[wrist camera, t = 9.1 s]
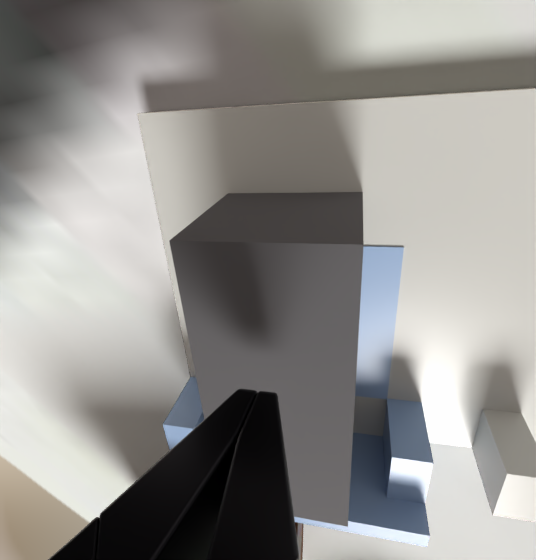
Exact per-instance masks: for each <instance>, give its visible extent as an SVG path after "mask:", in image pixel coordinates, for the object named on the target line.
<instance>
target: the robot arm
mask: <svg viewBox="0 0 536 560" xmlns="http://www.w3.org/2000/svg"><path fill="white" fill-rule="evenodd" d="M48 560H300V556H299V548H298V541H297V534H296V526H295V519H294V512H293V504H292V497H291V490H290V482H289V475H288V468H287V460H286V453H285V446H284V438H283V431H282V424H281V416H280V409H279V402H278V395H277V393H275V392H267V391H259V392H257V391H256V390H250V389H238V390H236V391H235V392H234V393H233V394H232V395H231V396H230V397H229V398H228V399H226V400H225V401H224V402H223V403H222V404H221V405H220V406H219V407H218V408H217V409H215V410H214V411H213V412H212V413H211V414H210V415H209V416H208V417H207V418H205V419H204V420H203V421H202V422H201V423H200V424H199V425H198V426H197V427H196V428H194V429H193V430H192V431H191V432H190V433H189V434H188V435H187V436H186V437H184V438H183V439H182V440H181V441H180V442H179V443H178V444H177V445H176V446H175V447H173V448H172V449H171V450H170V451H169V452H168V453H167V454H166V455H165V456H163V457H162V458H161V459H160V460H159V461H158V462H157V463H156V464H155V465H153V466H152V467H151V468H150V469H149V470H148V471H147V472H146V473H145V474H144V475H142V476H141V477H140V478H139V479H138V480H137V481H136V482H135V483H134V484H132V485H131V486H130V487H129V488H128V489H127V490H126V491H125V492H124V493H123V494H121V495H120V496H119V497H118V498H117V499H116V500H115V501H114V502H113V503H111V504H110V505H109V506H108V507H107V508H106V509H105V510H104V511H103V512H102V513H101V514H100V518H99V517H96V518H95V519H94V520H92V521H91V522H90V523H89V524H88V525H87V526H86V527H85V528H84V529H83V530H81V532H79V533H78V534H77V535H76V536H75V537H74V538H72V539H71V540H70V541H69V542H68V543H67V544H66V545H64V546H63V547H62V548H61V549H60V550H59V551H57V552H56V553H55V554H54V555H53V556H52V557H51V558H50V559H48Z"/></svg>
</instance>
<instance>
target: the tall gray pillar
mask: <svg viewBox="0 0 536 560" xmlns="http://www.w3.org/2000/svg"><path fill="white" fill-rule="evenodd" d="M169 242H170V247H171V252H172V258H173V263H174V268H175V273H176V278H177V283H178V288H179V293H180V298H181V303H182V308H183V313H184V318H185V324H186V329H187V334H188V339H189V344H190V349H191V354H192V359H193V364H194V369H195V374H196V379H197V385H198V390H199V395H200V400H201V405H202V410H203V415H204V419H205V418H207V417H208V416H209V415H210V414H211V413H212V412H213V411H214V410H215V409H217V408H218V407H219V406H220V405H221V404H222V403H223V402H224V401H225V400H226V399H228V398H229V397H230V396H231V395H232V394H233V393H234V392H235V391H236V390H238V389H250V390H256V391H257V392H259V391H267V392H275V393H277V395H278V402H279V409H280V416H281V424H282V431H283V438H284V446H285V453H286V460H287V468H288V475H289V482H290V490H291V497H292V504H293V512H294V517H299V518H304V519H309V520H315V521H320V522H325V523H331V524H336V525H341V526H347V527H348V514H349V496H350V478H351V461H352V443H353V425H354V407H355V389H356V371H357V353H358V335H359V317H360V300H361V282H362V264H363V246H364V240H363V192H312V193H228V194H226V195H225V196H224V197H223V198H221V199H220V200H219V201H218V202H216V203H215V204H214V205H213V206H212V207H210V208H209V209H208V210H207V211H205V212H204V213H203V214H202V215H200V216H199V217H198V218H197V219H195V220H194V221H193V222H192V223H190V224H189V225H188V226H187V227H185V228H184V229H183V230H182V231H181V232H179V233H178V234H177V235H176V236H174V237H173V238H172V239H171V240H169Z"/></svg>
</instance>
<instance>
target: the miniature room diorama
mask: <svg viewBox="0 0 536 560" xmlns="http://www.w3.org/2000/svg"><path fill="white" fill-rule="evenodd" d="M137 116H138V121H139V125H140V130H141V135H142V140H143V145H144V150H145V155H146V160H147V165H148V170H149V175H150V180H151V184H152V189H153V194H154V199H155V204H156V209H157V214H158V219H159V224H160V229H161V234H162V239H163V243H164V248H165V253H166V258H167V263H168V268H169V273H170V278H171V283H172V288H173V293H174V297H175V302H176V307H177V312H178V317H179V322H180V327H181V332H182V337H183V342H184V347H185V352H186V356H187V361H188V366H189V371H190V376H191V377H190V379H189V381H188V382H187V384H186V386H185V387H184V389H183V391H182V392H181V394H180V396H179V398H178V399H177V401H176V403H175V404H174V406H173V408H172V410H171V411H170V413H169V415H168V416H167V418H166V420H165V421H164V423H163V427H164V431H165V435H166V438H167V442H168V446H169V450H171V449H172V448H173V447H175V446H176V445H177V444H178V443H179V442H180V441H181V440H182V439H183V438H184V437H186V436H187V435H188V434H189V433H190V432H191V431H192V430H193V429H194V428H196V427H197V426H198V425H199V424H200V423H201V422H202V421H203V420H204V415H203V410H202V405H201V400H200V395H199V390H198V385H197V379H196V374H195V369H194V364H193V359H192V354H191V349H190V344H189V339H188V334H187V329H186V324H185V318H184V313H183V308H182V303H181V298H180V293H179V288H178V283H177V278H176V273H175V268H174V263H173V258H172V252H171V247H170V242H169V240H171V239H172V238H173V237H174V236H176V235H177V234H178V233H179V232H181V231H182V230H183V229H184V228H185V227H187V226H188V225H189V224H190V223H192V222H193V221H194V220H195V219H197V218H198V217H199V216H200V215H202V214H203V213H204V212H205V211H207V210H208V209H209V208H210V207H212V206H213V205H214V204H215V203H216V202H218V201H219V200H220V199H221V198H223V197H224V196H225V195H226V194H228V193H312V192H363V240H364V246H363V264H362V282H361V300H360V317H359V335H358V353H357V371H356V389H355V407H354V425H353V443H352V461H351V478H350V496H349V514H348V527H347V526H341V525H336V524H331V523H325V522H320V521H315V520H309V519H304V518H299V517H294V519H295V522H298V523H303V524H308V525H313V526H319V527H324V528H329V529H334V530H340V531H345V532H350V533H355V534H361V535H366V536H371V537H376V538H382V539H387V540H392V541H397V542H402V543H408V544H413V545H418V546H423V547H427V546H428V542H429V538H430V534H429V527H428V521H427V514H426V508H425V501H426V496H427V492H428V487H429V482H430V477H431V472H432V468H433V458H432V453H431V448H430V443H437V444H444V445H452V446H460V447H467V448H472V449H473V453H474V456H475V459H476V462H477V466H478V469H479V472H480V476H481V479H482V482H483V485H484V489H485V492H486V495H487V498H488V502H489V505H490V508H491V511H492V515H494V516H500V517H506V518H512V519H518V520H524V521H530V522H536V88H523V89H507V90H491V91H475V92H460V93H444V94H428V95H412V96H396V97H380V98H364V99H349V100H333V101H317V102H301V103H285V104H269V105H254V106H238V107H222V108H206V109H190V110H174V111H158V112H146V113H138V114H137Z"/></svg>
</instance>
